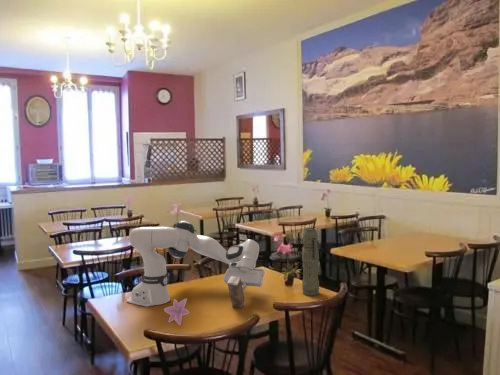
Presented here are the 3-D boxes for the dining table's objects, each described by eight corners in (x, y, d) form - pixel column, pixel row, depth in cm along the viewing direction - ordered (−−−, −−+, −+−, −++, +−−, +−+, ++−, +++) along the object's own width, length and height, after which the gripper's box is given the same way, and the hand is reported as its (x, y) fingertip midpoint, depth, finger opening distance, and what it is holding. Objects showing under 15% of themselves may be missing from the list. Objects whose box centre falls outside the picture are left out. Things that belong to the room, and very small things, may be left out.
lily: (162, 320, 203) (158, 306, 197) (183, 305, 209) (179, 291, 203) (177, 334, 195) (172, 320, 189) (198, 319, 201) (194, 305, 195)
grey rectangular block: (232, 306, 215) (227, 282, 209) (235, 300, 220) (230, 276, 213) (241, 307, 214) (236, 283, 207) (245, 301, 218) (240, 277, 212)
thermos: (310, 289, 241) (310, 226, 238) (324, 294, 231) (323, 229, 228) (297, 291, 237) (296, 228, 234) (310, 297, 226) (310, 231, 224)
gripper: (266, 272, 224) (260, 297, 216) (230, 269, 231) (223, 293, 223) (263, 266, 219) (257, 291, 211) (226, 263, 226) (219, 287, 218)
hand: (239, 292), depth 217 cm, fingers closed
